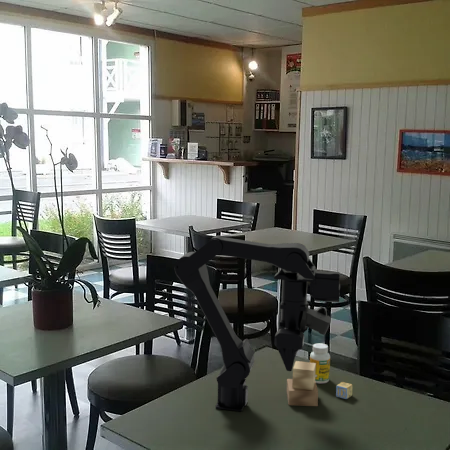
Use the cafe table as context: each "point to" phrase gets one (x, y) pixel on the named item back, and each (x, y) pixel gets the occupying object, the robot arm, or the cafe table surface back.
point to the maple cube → (304, 375)
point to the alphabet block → (344, 390)
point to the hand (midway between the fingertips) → (291, 363)
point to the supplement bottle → (321, 362)
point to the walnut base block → (301, 395)
